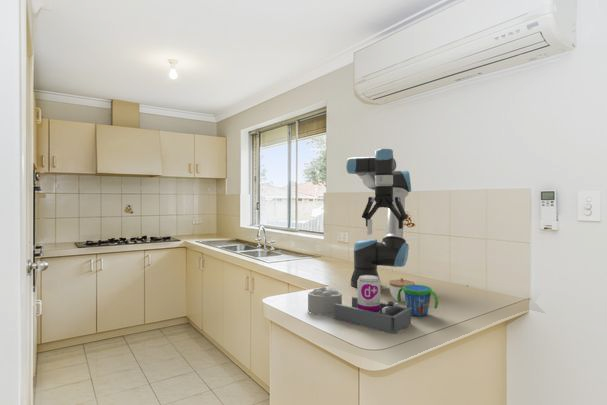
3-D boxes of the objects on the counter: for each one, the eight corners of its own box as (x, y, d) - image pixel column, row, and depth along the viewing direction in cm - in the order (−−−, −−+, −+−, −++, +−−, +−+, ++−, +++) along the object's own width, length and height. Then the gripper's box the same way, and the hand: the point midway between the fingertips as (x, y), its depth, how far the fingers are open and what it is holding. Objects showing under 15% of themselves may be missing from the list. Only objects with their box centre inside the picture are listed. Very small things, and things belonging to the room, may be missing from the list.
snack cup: (392, 312, 145) (392, 286, 144) (406, 306, 152) (406, 281, 152) (429, 321, 133) (429, 293, 133) (442, 315, 141) (443, 288, 141)
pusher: (380, 325, 126) (381, 304, 126) (394, 318, 134) (394, 298, 134) (386, 326, 125) (386, 305, 125) (399, 319, 132) (399, 299, 132)
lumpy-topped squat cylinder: (343, 313, 143) (343, 291, 143) (310, 316, 140) (310, 293, 140) (336, 306, 153) (336, 285, 153) (305, 307, 151) (305, 286, 151)
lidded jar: (415, 297, 165) (415, 276, 165) (414, 304, 155) (414, 282, 155) (390, 295, 169) (390, 275, 168) (388, 302, 158) (388, 280, 158)
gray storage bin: (334, 318, 137) (334, 304, 137) (353, 310, 147) (353, 296, 147) (394, 334, 121) (394, 317, 121) (410, 323, 131) (411, 308, 131)
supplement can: (380, 322, 130) (380, 280, 130) (356, 320, 132) (356, 279, 131) (380, 315, 138) (380, 275, 138) (357, 313, 140) (358, 274, 139)
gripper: (354, 186, 162) (354, 234, 162) (407, 184, 146) (407, 238, 146) (363, 186, 168) (363, 232, 168) (415, 185, 151) (415, 236, 152)
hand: (383, 235), depth 157 cm, fingers open, 13 cm apart
